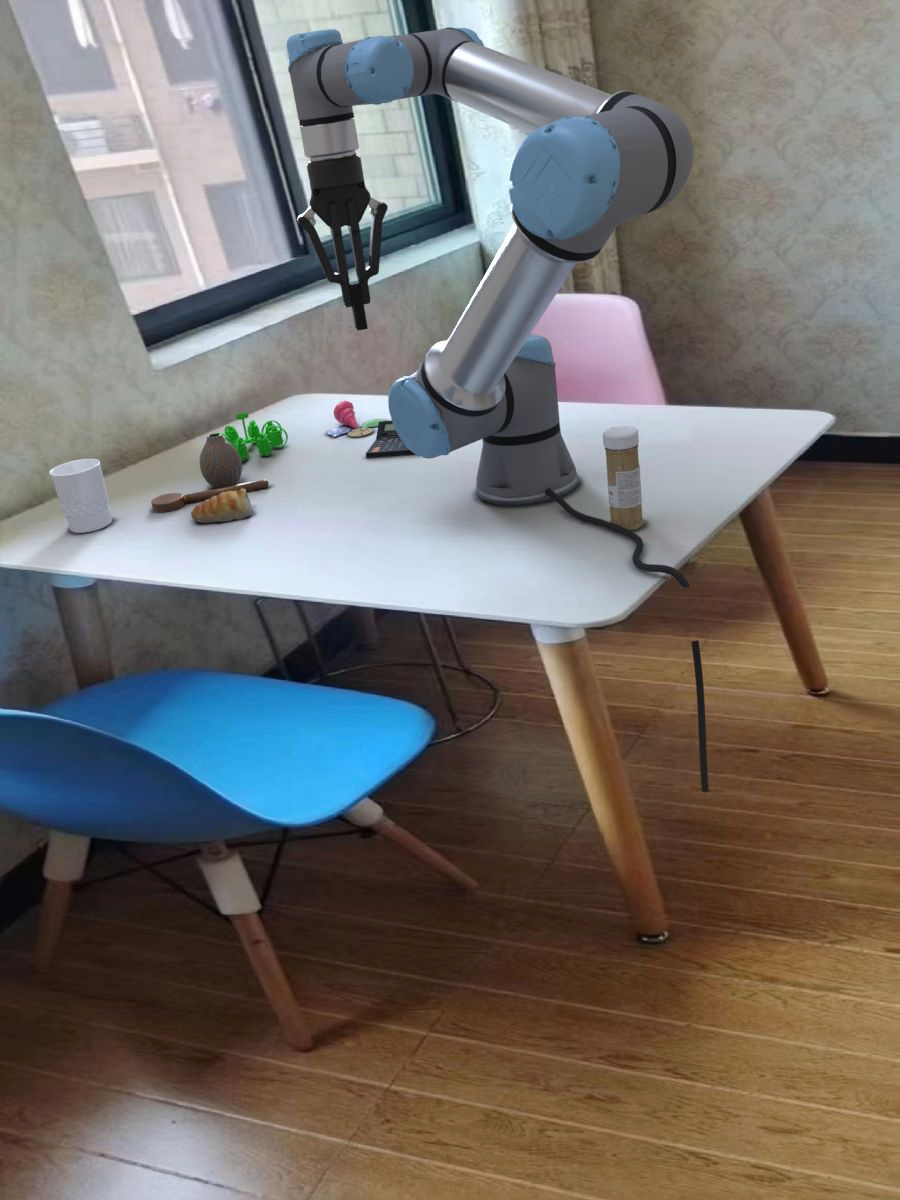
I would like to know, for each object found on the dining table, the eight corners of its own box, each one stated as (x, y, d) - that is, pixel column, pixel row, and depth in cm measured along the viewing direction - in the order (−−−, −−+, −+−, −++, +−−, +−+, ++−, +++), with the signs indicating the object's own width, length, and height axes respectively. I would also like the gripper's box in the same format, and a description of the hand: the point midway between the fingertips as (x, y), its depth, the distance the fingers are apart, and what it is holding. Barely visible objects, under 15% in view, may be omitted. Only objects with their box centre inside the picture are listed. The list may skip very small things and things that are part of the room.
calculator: (366, 458, 199) (363, 441, 197) (382, 436, 209) (379, 420, 208) (419, 454, 196) (416, 437, 195) (432, 432, 207) (429, 416, 205)
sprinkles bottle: (608, 521, 157) (600, 427, 152) (642, 517, 157) (635, 422, 151) (612, 534, 153) (604, 437, 148) (646, 530, 153) (639, 433, 147)
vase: (226, 493, 192) (214, 442, 188) (196, 489, 195) (184, 440, 192) (253, 478, 197) (243, 429, 193) (224, 475, 200) (213, 427, 197)
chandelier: (194, 457, 213) (185, 421, 210) (261, 434, 221) (254, 399, 218) (236, 470, 202) (228, 432, 199) (306, 445, 211) (298, 408, 208)
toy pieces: (312, 433, 217) (307, 411, 215) (355, 416, 224) (352, 394, 222) (353, 441, 209) (349, 417, 207) (398, 422, 216) (394, 400, 214)
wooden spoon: (268, 482, 194) (266, 474, 193) (270, 491, 189) (268, 483, 189) (153, 504, 191) (151, 496, 191) (152, 514, 187) (150, 506, 186)
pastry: (193, 529, 177) (187, 506, 176) (192, 515, 184) (187, 493, 182) (253, 517, 179) (248, 494, 177) (251, 504, 185) (246, 481, 183)
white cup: (125, 516, 188) (109, 458, 184) (96, 535, 181) (79, 475, 177) (86, 516, 191) (69, 458, 186) (56, 534, 184) (38, 475, 180)
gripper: (375, 147, 162) (400, 315, 172) (283, 162, 160) (314, 331, 170) (383, 149, 155) (409, 324, 165) (287, 165, 153) (320, 340, 163)
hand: (361, 327), depth 167 cm, fingers closed
